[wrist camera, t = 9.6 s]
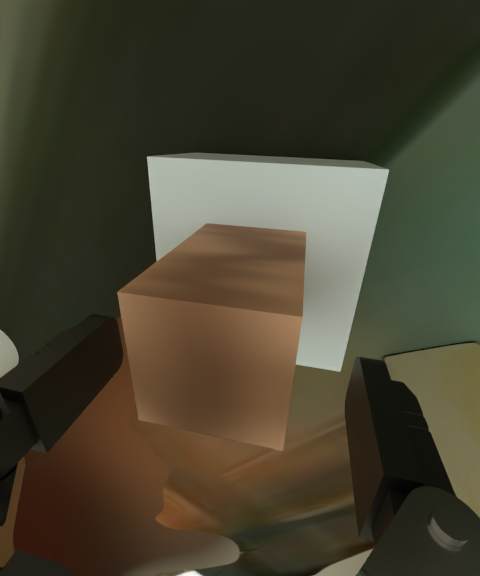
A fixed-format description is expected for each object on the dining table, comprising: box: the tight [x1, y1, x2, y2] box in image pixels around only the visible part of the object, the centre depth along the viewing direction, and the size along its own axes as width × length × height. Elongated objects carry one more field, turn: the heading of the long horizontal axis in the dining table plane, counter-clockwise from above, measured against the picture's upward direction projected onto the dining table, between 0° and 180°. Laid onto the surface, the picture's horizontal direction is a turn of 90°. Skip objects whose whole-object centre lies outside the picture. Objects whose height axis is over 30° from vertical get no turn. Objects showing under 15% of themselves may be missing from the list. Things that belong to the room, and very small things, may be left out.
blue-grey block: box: [147, 153, 389, 372], centre depth 19 cm, size 11×11×7 cm
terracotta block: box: [117, 223, 306, 451], centre depth 12 cm, size 5×5×8 cm
